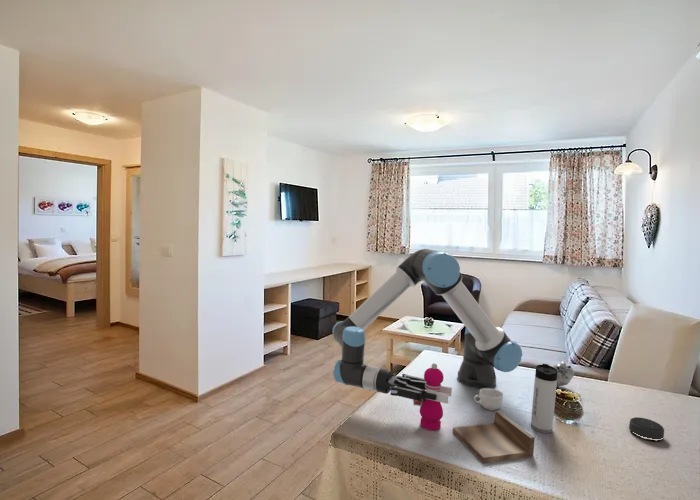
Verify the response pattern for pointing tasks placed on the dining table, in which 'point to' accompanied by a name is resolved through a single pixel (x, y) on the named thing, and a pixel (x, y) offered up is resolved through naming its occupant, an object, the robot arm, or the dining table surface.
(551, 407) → the travel mug
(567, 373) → the grey rounded lump
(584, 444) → the dining table surface
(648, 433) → the smart speaker
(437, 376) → the pepper mill
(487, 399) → the teacup
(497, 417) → the spice board
